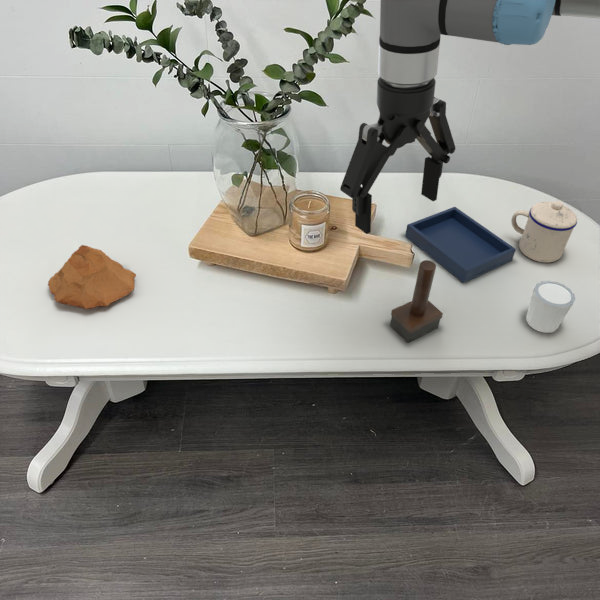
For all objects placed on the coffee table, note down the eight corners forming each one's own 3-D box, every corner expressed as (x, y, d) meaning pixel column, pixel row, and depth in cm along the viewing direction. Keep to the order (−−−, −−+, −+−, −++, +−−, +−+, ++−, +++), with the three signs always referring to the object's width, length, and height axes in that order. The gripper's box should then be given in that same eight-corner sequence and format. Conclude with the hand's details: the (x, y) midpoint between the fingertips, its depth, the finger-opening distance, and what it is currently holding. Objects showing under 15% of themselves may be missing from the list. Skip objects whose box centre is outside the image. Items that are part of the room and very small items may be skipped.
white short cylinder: (534, 303, 107) (546, 274, 102) (568, 322, 104) (582, 293, 99) (515, 321, 104) (526, 292, 99) (550, 341, 100) (564, 312, 95)
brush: (438, 328, 102) (455, 266, 92) (407, 343, 99) (421, 281, 89) (419, 310, 105) (433, 249, 95) (388, 325, 102) (400, 263, 92)
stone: (43, 293, 109) (37, 241, 106) (119, 282, 117) (115, 234, 114) (64, 314, 98) (58, 257, 95) (146, 300, 106) (143, 247, 103)
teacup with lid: (568, 248, 120) (589, 201, 112) (554, 270, 115) (574, 222, 107) (513, 227, 125) (529, 180, 117) (497, 247, 120) (512, 199, 112)
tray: (512, 260, 117) (516, 249, 115) (463, 283, 111) (466, 271, 109) (452, 217, 127) (454, 206, 125) (404, 236, 122) (407, 224, 120)
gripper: (454, 45, 82) (437, 175, 96) (312, 95, 72) (317, 231, 87) (495, 59, 77) (471, 194, 91) (349, 115, 67) (348, 255, 82)
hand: (396, 212), depth 89 cm, fingers open, 13 cm apart
